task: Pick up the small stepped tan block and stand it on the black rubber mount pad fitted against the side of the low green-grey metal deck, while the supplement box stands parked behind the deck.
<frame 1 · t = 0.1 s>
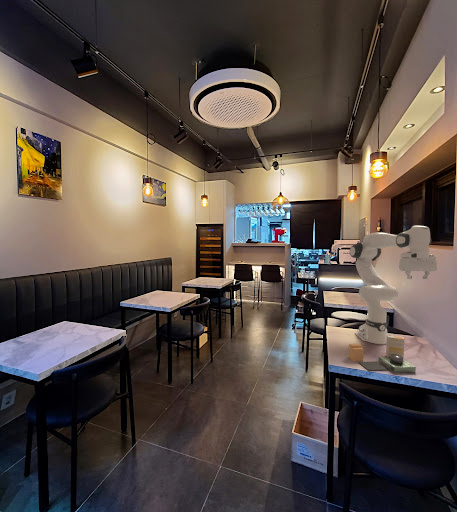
hand: (417, 279, 140), 48 cm above the table, fingers open, 8 cm apart
stepped tan block: (355, 359, 144), on the table
mount pad: (372, 366, 136), on the table
deck: (396, 366, 136), on the table
supplement box: (394, 358, 147), on the table
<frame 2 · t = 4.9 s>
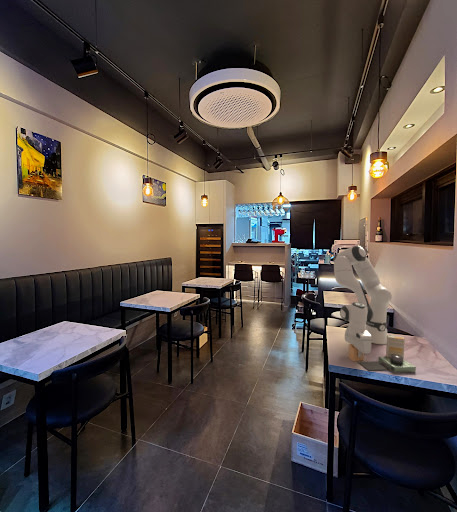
hand: (356, 354, 144), 3 cm above the table, fingers closed on stepped tan block, 4 cm apart
stepped tan block: (355, 358, 144), on the table, touching gripper
everything else where it was.
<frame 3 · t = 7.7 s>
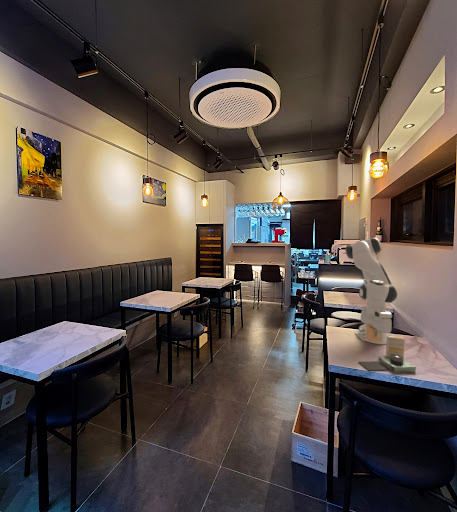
hand: (374, 335, 135), 17 cm above the table, fingers closed on stepped tan block, 4 cm apart
stepped tan block: (373, 340, 135), point 15 cm above the table, touching gripper
everything else where it was.
when the fingers open (4 cm above the table, at t = 10.7 s): stepped tan block drops 1 cm, resting on mount pad.
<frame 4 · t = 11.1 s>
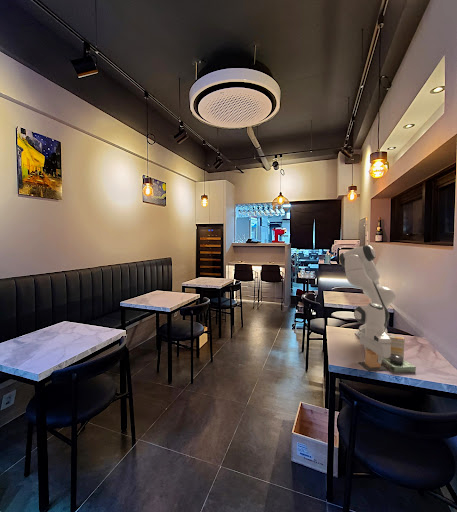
hand: (373, 358, 135), 4 cm above the table, fingers open, 8 cm apart
stepped tan block: (372, 365, 136), point 1 cm above the table, touching mount pad
everything else where it was.
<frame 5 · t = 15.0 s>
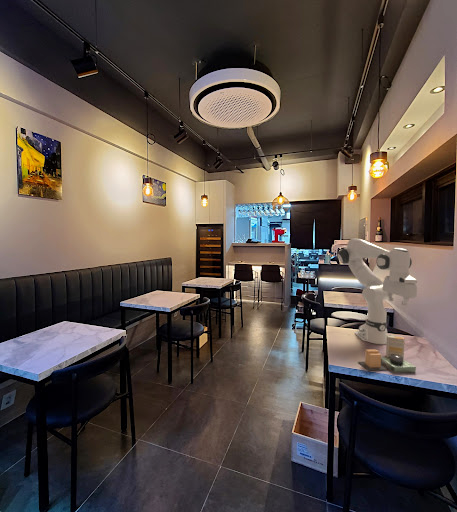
hand: (397, 302, 136), 35 cm above the table, fingers open, 8 cm apart
nothing on the table moved.
at the end: stepped tan block inside the target area on the mount pad (0.1 cm from its centre), point 0.6 cm above the mount pad's base; stepped tan block tilted 0°; the gripper is holding nothing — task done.
